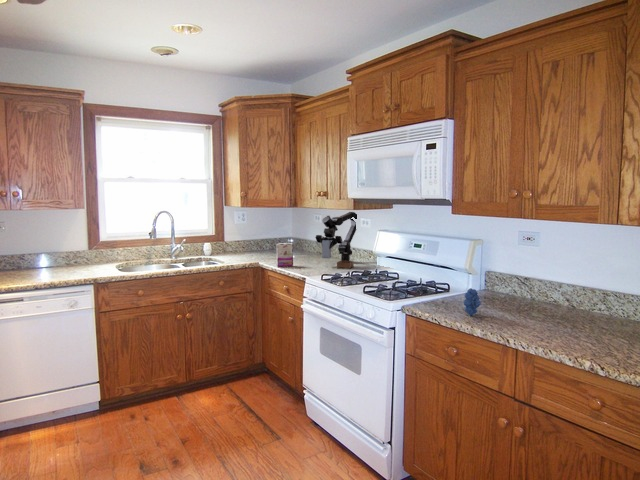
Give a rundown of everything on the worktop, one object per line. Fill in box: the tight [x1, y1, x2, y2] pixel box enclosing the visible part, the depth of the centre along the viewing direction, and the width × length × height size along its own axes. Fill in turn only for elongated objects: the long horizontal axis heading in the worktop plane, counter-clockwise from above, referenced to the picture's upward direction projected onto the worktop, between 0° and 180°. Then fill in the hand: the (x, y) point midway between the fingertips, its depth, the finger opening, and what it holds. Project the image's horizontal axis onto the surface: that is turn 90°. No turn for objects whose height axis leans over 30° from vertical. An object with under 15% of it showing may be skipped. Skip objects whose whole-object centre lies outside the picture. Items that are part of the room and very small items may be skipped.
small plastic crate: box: [321, 240, 332, 259], centre depth 312 cm, size 5×5×12 cm
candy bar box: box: [276, 242, 294, 268], centre depth 314 cm, size 11×5×16 cm, turn 105°
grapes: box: [462, 288, 482, 316], centre depth 189 cm, size 12×7×12 cm, turn 135°
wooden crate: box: [336, 260, 355, 270], centre depth 312 cm, size 9×9×4 cm
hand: (326, 248), depth 310 cm, fingers closed on small plastic crate, 5 cm apart
